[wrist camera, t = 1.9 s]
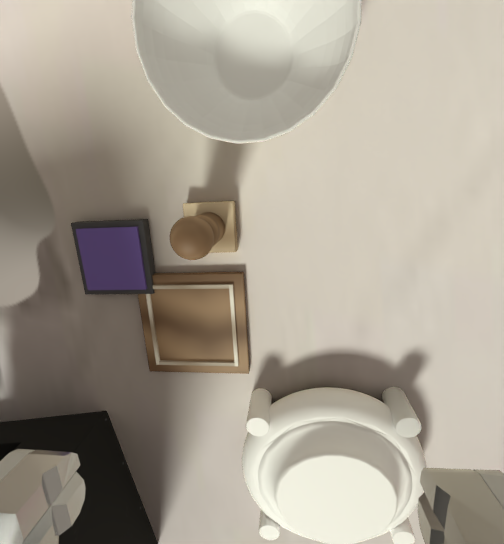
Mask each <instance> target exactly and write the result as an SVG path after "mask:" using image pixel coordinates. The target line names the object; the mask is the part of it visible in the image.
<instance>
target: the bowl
mask: <svg viewBox="0 0 504 544" xmlns="http://www.w3.org/2000/svg"><path fill="white" fill-rule="evenodd" d="M361 1H362V0H133V1H132V15H131V17H132V24H133V31H134V39H135V46H136V51H137V54H138V57H139V59H140V62H141V65H142V67H143V70H144V73H145V75H146V78H147V81H148V82H149V84H150V85H151V87H152V88H153V90H154V91H155V93H156V94H157V96H158V97H159V99H160V100H161V102H162V103H163V105H164V106H165V107H166V108H167V109H168V110H169V111H170V112H171V113H172V114H173V115H174V116H176V117H177V118H178V119H179V120H180V121H181V122H182V123H183V124H184V125H185V126H187V127H189V128H191V129H193V130H195V131H197V132H199V133H201V134H203V135H204V136H206V137H208V138H211V139H216V140H221V141H226V142H231V143H235V144H239V143H252V142H264V141H267V140H270V139H272V138H275V137H277V136H280V135H283V134H285V133H288V132H290V131H292V130H293V129H294V128H296V127H297V126H299V125H300V124H301V123H303V122H304V121H305V120H307V119H308V118H310V117H311V116H312V115H314V114H315V113H316V112H317V111H318V110H319V108H320V107H321V106H322V105H323V104H324V102H325V101H326V100H327V99H328V98H329V97H330V95H331V94H332V93H333V92H334V91H335V90H336V88H337V86H338V84H339V82H340V80H341V78H342V76H343V74H344V72H345V70H346V68H347V66H348V64H349V62H350V60H351V58H352V55H353V51H354V47H355V43H356V39H357V36H358V32H359V28H360V24H361Z"/></svg>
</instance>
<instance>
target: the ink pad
mask: <svg viewBox="0 0 504 544" xmlns="http://www.w3.org/2000/svg"><path fill="white" fill-rule="evenodd" d="M71 226H72V230H73V235H74V240H75V245H76V250H77V255H78V260H79V265H80V270H81V275H82V280H83V284H84V289H85V294H154V293H155V292H154V289H153V277H152V275H153V274H155V268H154V261H153V254H152V246H151V239H150V232H149V225H148V219H139V220H114V221H88V222H75V223H71Z"/></svg>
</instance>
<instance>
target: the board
mask: <svg viewBox="0 0 504 544" xmlns="http://www.w3.org/2000/svg"><path fill="white" fill-rule="evenodd" d="M152 277H153V289H154V292H155V293H154V294H138V299H139V305H140V312H141V318H142V324H143V331H144V337H145V344H146V350H147V356H148V363H149V369H150V371H162V372H204V373H246V374H249V353H248V336H247V318H246V301H245V284H244V272H204V273H155V274H153V275H152Z"/></svg>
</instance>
